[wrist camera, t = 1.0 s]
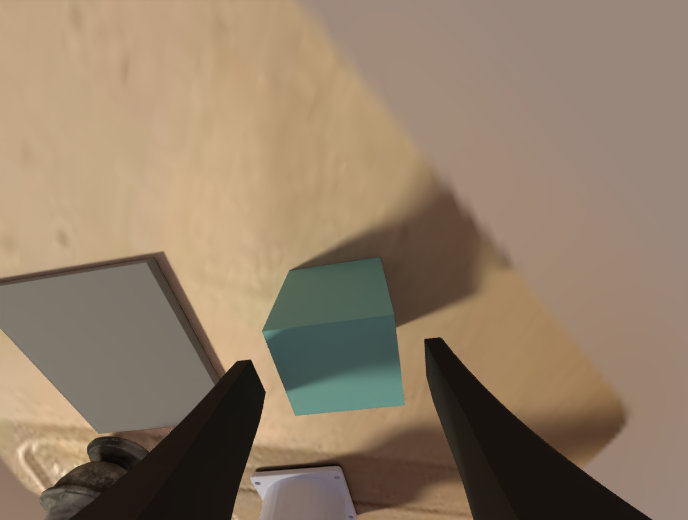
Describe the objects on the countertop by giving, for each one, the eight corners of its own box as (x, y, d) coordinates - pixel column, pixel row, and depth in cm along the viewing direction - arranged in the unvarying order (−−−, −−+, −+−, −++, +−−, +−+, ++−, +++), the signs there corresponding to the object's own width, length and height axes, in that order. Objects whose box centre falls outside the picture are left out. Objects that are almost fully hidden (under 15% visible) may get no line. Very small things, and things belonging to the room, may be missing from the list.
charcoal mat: (237, 412, 20) (234, 420, 19) (105, 425, 21) (98, 433, 20) (153, 257, 14) (146, 262, 14) (-21, 285, 15) (-34, 291, 15)
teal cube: (389, 329, 16) (404, 405, 12) (310, 339, 17) (295, 415, 12) (380, 256, 14) (394, 314, 10) (289, 269, 14) (261, 331, 10)
